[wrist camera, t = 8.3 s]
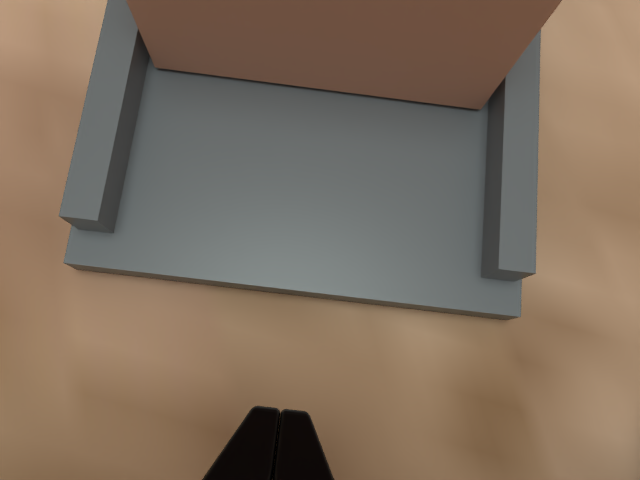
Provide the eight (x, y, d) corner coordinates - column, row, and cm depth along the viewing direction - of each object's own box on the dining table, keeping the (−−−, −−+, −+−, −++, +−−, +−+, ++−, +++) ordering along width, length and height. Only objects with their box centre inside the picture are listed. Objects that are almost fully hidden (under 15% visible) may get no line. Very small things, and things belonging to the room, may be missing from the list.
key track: (507, 320, 17) (542, 311, 15) (76, 269, 17) (42, 252, 14) (520, -113, 21) (550, -174, 18) (169, -163, 20) (154, -232, 18)
